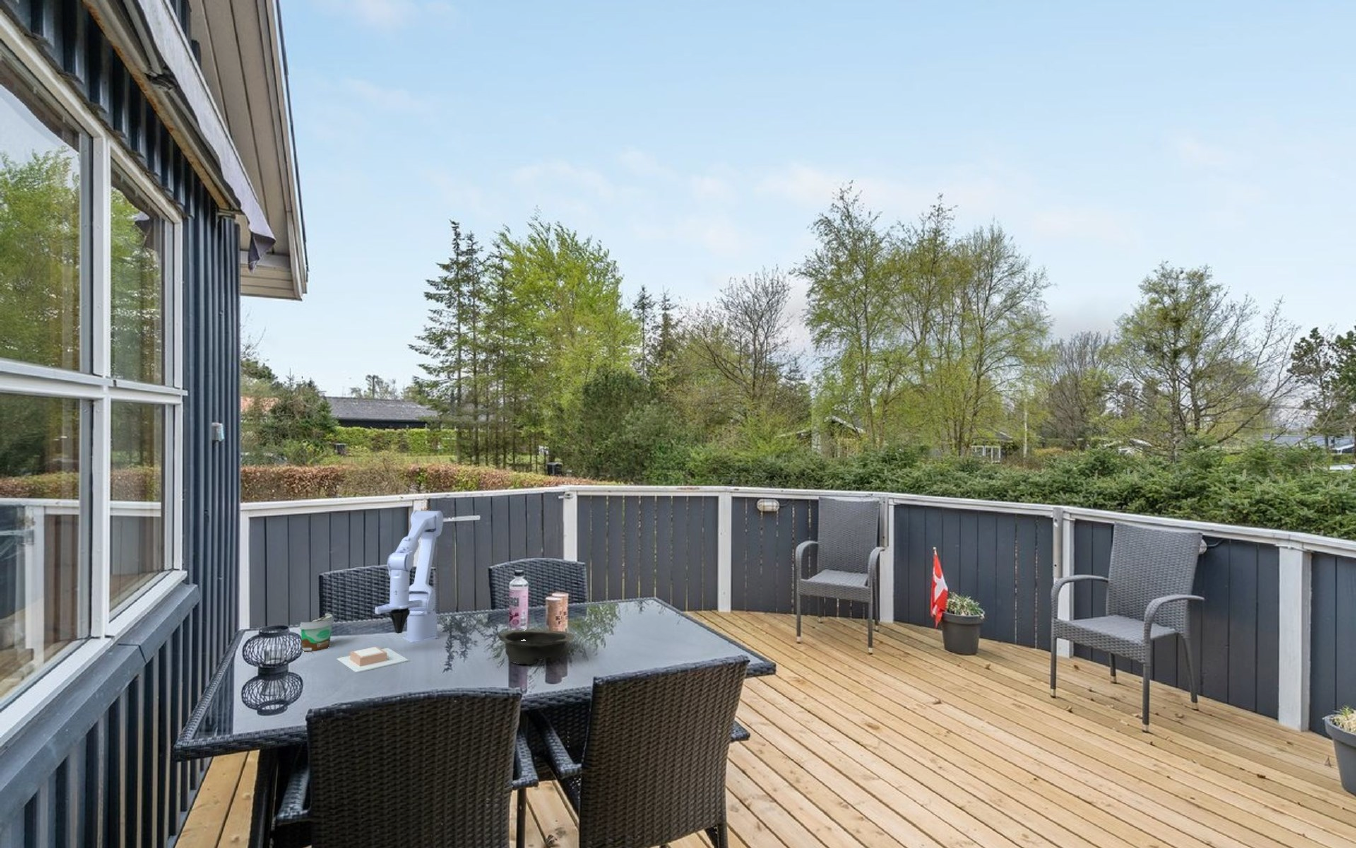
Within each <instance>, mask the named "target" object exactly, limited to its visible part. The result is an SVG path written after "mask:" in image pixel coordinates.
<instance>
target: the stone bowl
mask: <svg viewBox="0 0 1356 848" xmlns="http://www.w3.org/2000/svg"><path fill="white" fill-rule="evenodd" d="M522 630H523V629H514V630H513V629H512V630H507V631H504V632H502V633H500V634H498V633H496V635H497V638H499V639H498V640H500V641H501V642H504V644H505V655H506V656H507V658H508V661H509V663H511V662H516V663H519V664H522V665H524V664H525V665H532V664H536V663H537V662H538V660H541V661H543V660H546V661H547V662H550V663H551V662H556V660H557V661H558V660H559V659H560V658H561V656H562V655H563V652H564V650H565V647H566V643H567V642H568V643H570V642H573V641H574V640H575V637H576V636H575V635H574V633H571V632H568V631H562V630H556V631H549V630H550V629H540V628H539V629H538V628H535V629H534V628H532V629H530V628H529V629H526V630H525V629H524V630H525V631H522ZM523 639H525V640H526V641H521V640H523Z"/></svg>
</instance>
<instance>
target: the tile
mask: <svg viewBox="0 0 1356 848" xmlns="http://www.w3.org/2000/svg"><path fill="white" fill-rule="evenodd" d="M380 648H381V647H378V646H373V647H372V646H371V647H367V648H363V649H358V650H352V651H350V653H349V654H350V660H351V661H353V662H354V663H356V664H357V665H358V666H365V665H369V664H374V663H378V662H383V661H387V652H385V651H383V650H382V649H380Z"/></svg>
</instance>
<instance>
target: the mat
mask: <svg viewBox="0 0 1356 848" xmlns="http://www.w3.org/2000/svg"><path fill="white" fill-rule="evenodd" d="M379 648H380V649H382V650H383V651H385V652H387V661H383V662H378V663H374V664H369V665H365V666H358V665H357V664H356V663H354V662H353V661H351V660H350V653H349V654H344V655H341V656H335V657H334V658H335V659H336V660H338V661H339V662H340V663H342V664H343V665H345V666H346V667H348V668H349V669H350V670H352V671H353V672H355V673H356V674H360V673H364V672H368V671H373V670H376V669H381V668H385V667H390V666H394V665H399V664H400V665H401V664H404V663H409V662H411V660H410V659H407V658H406V657H404V656H402V655H401V654H399V653H398V652H396V651H394V650H393V649H390V648H389V647H388V646H384V647H379Z"/></svg>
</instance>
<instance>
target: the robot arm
mask: <svg viewBox="0 0 1356 848" xmlns="http://www.w3.org/2000/svg"><path fill="white" fill-rule="evenodd" d="M443 525H444V515H443V512H442V511H441V510H417V509H415V510H413V511H412V513H411V516H410V526H411V528H410V530H409V532H408V534H407V536H404V537H403V538H402V539H401V541H400V542H399V545H398V546H397V548H396V550H395V551H394V552H393V553H391V554H389V555H388V558H387V563H386V566H387V567H386V568H387V569H388V577H390V580H389V582H390V583H389V603H386V604H383V605H380V606H379V605H378V606H375V608H374V614H377V615H381V614H384V613H387V614H388V615H389V616H390V619H391V621H392V623H393V627H394V633H396V634H397V635H398V634H402V633H403V630H404V626H405V623H406V635H403V636H402V637H401V638H402V639H403V640H405V641H408V642H409V643H412V644H413V643H419V642H423V641H427V640H433V639H438V638H439V636H438V615H437V613H436V611H435V610H434V609H435V606H436V590H435V589H434V587H433V586H431V585H430V584H429V583H430V579H431V571H432V565H433V559H434V554H435V553H434V552H435V546H436V542H437V538H438V537H439V536H441V534H442V532H443ZM419 540H420V542H419ZM418 549H419V551H418V556H417V563H416V568H415V576H414V580H413V583H412V584H411V585H410V575H411V574H410V572H411V570H412V568H413V566H414V560H415V555H416V552H417V550H418Z"/></svg>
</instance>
